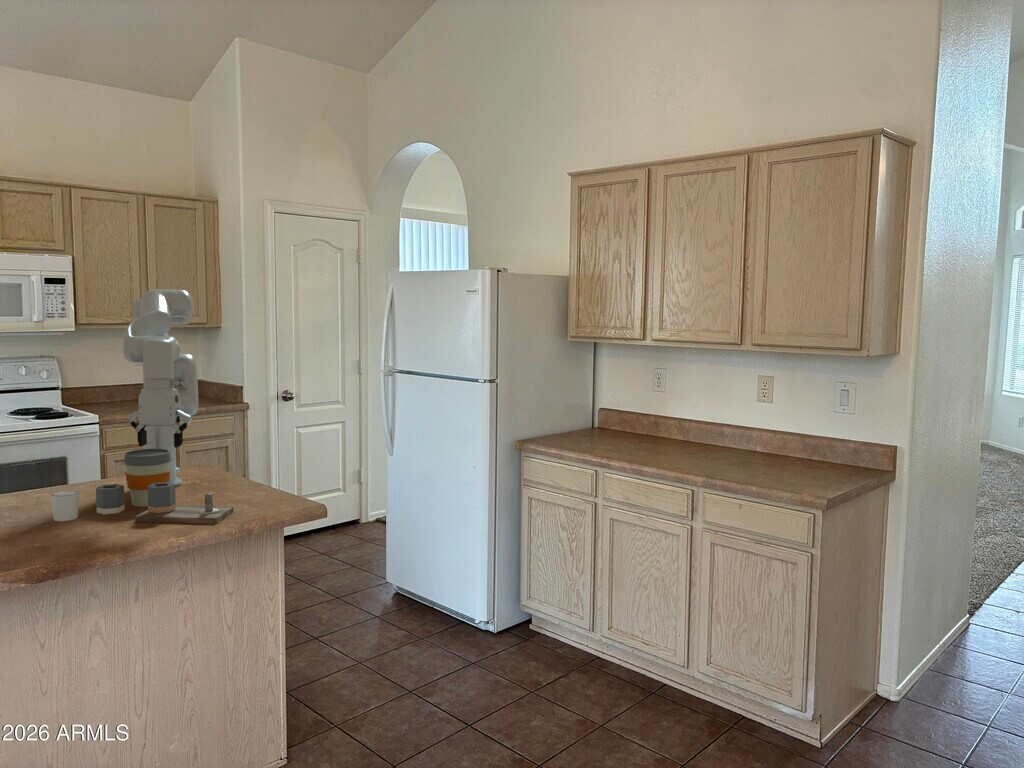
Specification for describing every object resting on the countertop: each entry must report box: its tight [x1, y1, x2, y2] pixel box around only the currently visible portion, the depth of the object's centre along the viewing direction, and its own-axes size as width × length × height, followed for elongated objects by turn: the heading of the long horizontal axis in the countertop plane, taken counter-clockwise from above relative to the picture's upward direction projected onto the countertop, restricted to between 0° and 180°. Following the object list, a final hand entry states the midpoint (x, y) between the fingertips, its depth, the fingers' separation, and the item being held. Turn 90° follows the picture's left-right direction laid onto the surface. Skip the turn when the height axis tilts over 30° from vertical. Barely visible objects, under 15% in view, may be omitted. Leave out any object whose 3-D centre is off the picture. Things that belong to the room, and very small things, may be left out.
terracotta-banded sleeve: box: [147, 482, 177, 513], centre depth 211 cm, size 7×6×7 cm
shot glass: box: [49, 490, 80, 522], centre depth 207 cm, size 7×7×7 cm
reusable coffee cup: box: [123, 448, 171, 507], centre depth 225 cm, size 13×12×15 cm
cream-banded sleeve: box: [95, 483, 125, 515], centre depth 215 cm, size 7×6×7 cm
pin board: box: [134, 492, 234, 525], centre depth 211 cm, size 12×22×6 cm, turn 89°
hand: (160, 445), depth 210 cm, fingers open, 9 cm apart
